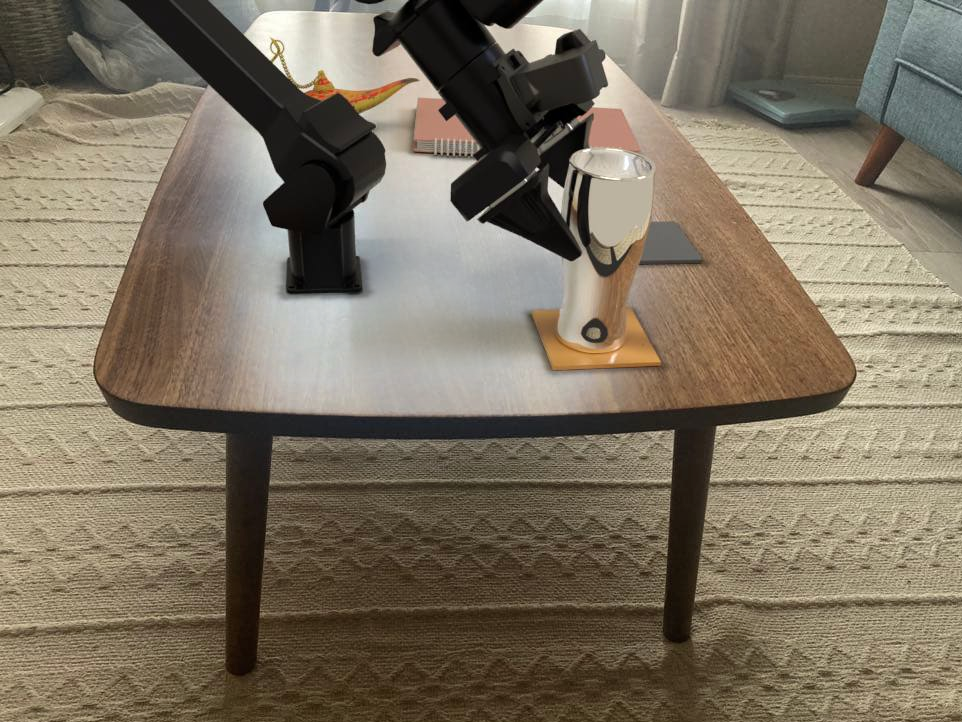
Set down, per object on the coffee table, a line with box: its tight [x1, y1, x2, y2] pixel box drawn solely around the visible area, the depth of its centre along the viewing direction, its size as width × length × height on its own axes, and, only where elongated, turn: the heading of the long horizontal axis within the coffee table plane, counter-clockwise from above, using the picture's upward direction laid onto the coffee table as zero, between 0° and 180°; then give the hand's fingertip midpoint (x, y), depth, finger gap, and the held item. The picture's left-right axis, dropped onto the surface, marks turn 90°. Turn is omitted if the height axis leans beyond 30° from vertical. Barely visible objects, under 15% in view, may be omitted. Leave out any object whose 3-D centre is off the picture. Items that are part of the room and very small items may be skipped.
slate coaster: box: [639, 221, 703, 265], centre depth 95 cm, size 9×9×1 cm
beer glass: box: [555, 147, 657, 353], centre depth 74 cm, size 7×7×15 cm
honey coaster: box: [531, 306, 662, 371], centre depth 78 cm, size 9×9×1 cm
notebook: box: [413, 97, 642, 158], centre depth 117 cm, size 27×17×2 cm, turn 94°
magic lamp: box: [269, 36, 421, 115], centre depth 111 cm, size 7×18×11 cm, turn 100°
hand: (592, 234), depth 73 cm, fingers open, 9 cm apart
